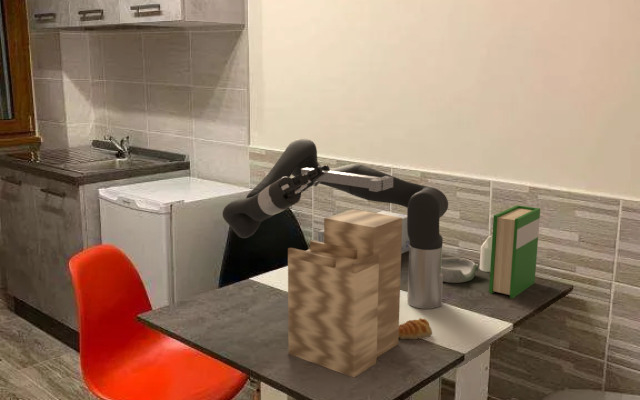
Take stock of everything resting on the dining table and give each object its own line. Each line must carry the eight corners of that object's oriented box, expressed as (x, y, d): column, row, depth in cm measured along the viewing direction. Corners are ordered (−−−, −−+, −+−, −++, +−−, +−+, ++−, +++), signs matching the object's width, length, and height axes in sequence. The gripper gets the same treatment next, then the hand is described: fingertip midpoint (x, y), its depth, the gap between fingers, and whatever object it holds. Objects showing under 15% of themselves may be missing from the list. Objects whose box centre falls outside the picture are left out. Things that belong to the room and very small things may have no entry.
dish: (480, 275, 212) (481, 260, 211) (465, 287, 201) (466, 272, 200) (439, 267, 220) (439, 253, 219) (422, 279, 209) (423, 264, 208)
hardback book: (512, 298, 191) (518, 219, 186) (488, 293, 196) (493, 215, 191) (534, 282, 205) (540, 208, 200) (511, 278, 209) (517, 205, 204)
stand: (288, 353, 155) (287, 223, 148) (341, 326, 171) (342, 207, 164) (353, 377, 143) (356, 237, 137) (403, 345, 159) (407, 218, 153)
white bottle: (487, 231, 219) (502, 234, 216) (485, 265, 222) (500, 269, 218) (478, 234, 215) (493, 238, 211) (476, 269, 218) (491, 273, 214)
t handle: (295, 179, 160) (295, 170, 159) (313, 175, 165) (313, 166, 165) (377, 191, 145) (377, 181, 145) (393, 187, 151) (394, 177, 150)
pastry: (402, 343, 161) (402, 329, 160) (388, 333, 167) (388, 319, 166) (434, 337, 165) (434, 323, 164) (419, 327, 171) (419, 314, 170)
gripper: (301, 205, 174) (347, 179, 163) (266, 214, 163) (312, 187, 152) (291, 179, 175) (336, 152, 164) (254, 187, 164) (300, 158, 153)
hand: (324, 169), depth 158 cm, fingers closed on t handle, 2 cm apart
